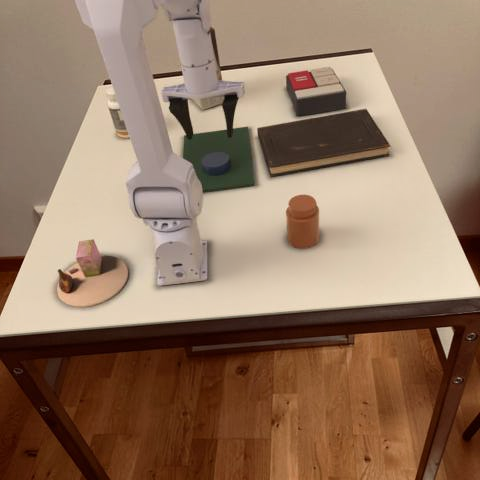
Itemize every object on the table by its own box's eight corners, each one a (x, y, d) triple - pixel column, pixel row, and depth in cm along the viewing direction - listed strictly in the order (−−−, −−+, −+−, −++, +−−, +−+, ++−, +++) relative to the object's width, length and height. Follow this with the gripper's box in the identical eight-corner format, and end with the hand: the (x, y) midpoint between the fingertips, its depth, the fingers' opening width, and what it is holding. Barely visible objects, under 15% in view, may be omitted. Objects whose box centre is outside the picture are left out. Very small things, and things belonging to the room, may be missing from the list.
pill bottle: (144, 134, 115) (132, 90, 107) (120, 141, 114) (106, 97, 106) (138, 123, 118) (126, 80, 111) (114, 130, 117) (101, 88, 110)
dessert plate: (62, 261, 87) (52, 241, 84) (131, 251, 87) (123, 230, 84) (51, 312, 79) (39, 291, 76) (127, 300, 79) (118, 279, 76)
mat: (254, 185, 96) (254, 183, 95) (181, 195, 97) (180, 192, 96) (248, 129, 110) (247, 126, 110) (184, 137, 111) (184, 135, 111)
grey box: (332, 64, 118) (346, 88, 108) (331, 83, 121) (346, 108, 111) (285, 71, 119) (295, 96, 108) (286, 90, 122) (296, 116, 111)
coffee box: (226, 102, 120) (216, 28, 108) (202, 111, 119) (188, 37, 107) (211, 89, 126) (200, 17, 114) (188, 96, 125) (173, 25, 113)
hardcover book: (389, 156, 97) (390, 145, 95) (270, 177, 97) (269, 166, 95) (364, 117, 107) (365, 107, 106) (257, 136, 108) (256, 126, 106)
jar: (321, 246, 82) (321, 209, 77) (289, 250, 82) (287, 214, 77) (316, 226, 85) (315, 190, 80) (285, 230, 86) (283, 195, 80)
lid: (208, 159, 103) (207, 150, 101) (234, 161, 101) (233, 152, 100) (198, 174, 100) (196, 166, 98) (225, 177, 98) (223, 168, 96)
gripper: (242, 47, 86) (251, 123, 96) (161, 54, 89) (177, 127, 99) (237, 64, 82) (246, 142, 92) (151, 71, 84) (169, 146, 94)
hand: (210, 136), depth 95 cm, fingers open, 7 cm apart
